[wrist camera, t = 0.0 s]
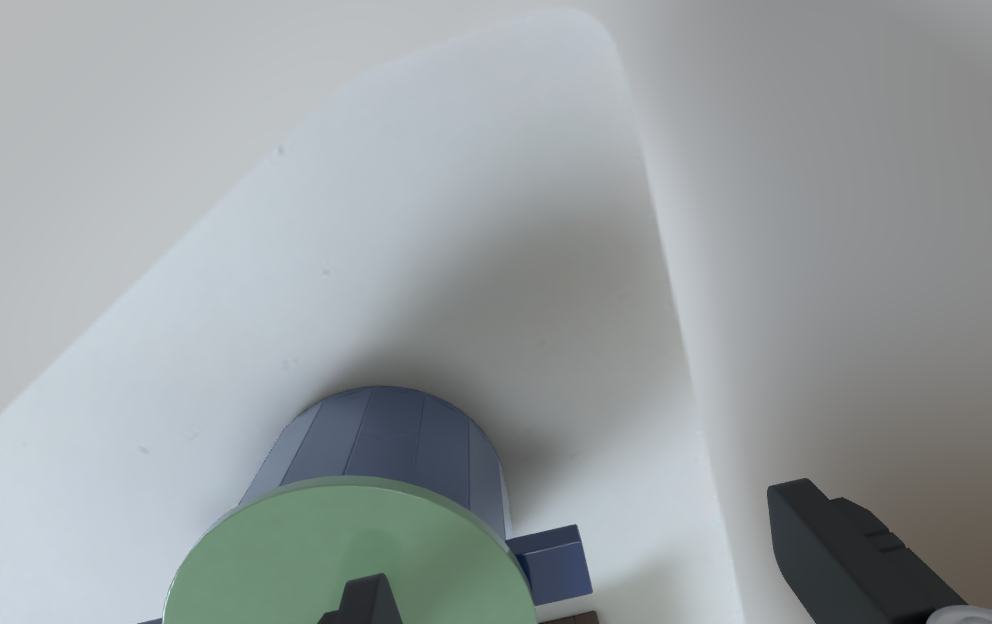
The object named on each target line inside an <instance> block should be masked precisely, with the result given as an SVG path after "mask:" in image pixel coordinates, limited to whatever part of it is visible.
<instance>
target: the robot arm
mask: <svg viewBox="0 0 992 624" xmlns="http://www.w3.org/2000/svg"><path fill="white" fill-rule="evenodd" d="M767 499H768V507H769V516H770V525H771V534H772V542H773V549H774V554H775V558H776V561H777V564H778V566H779V568H780V571H781V573H782V575H783V577H784V578H785V580H786V582H787V583H788V585H789V586H790V587H791V589H792V590H793V592H794V593H795V594H796V596H797V597H798V599H799V600H800V602H801V603H802V604H803V606H804V607H805V609H806V610H807V612H808V613H809V614H810V616H811V617H812V619H813V620H814V621H815V623H816V624H992V610H989V609H985V608H981V607H976V606H969V605H968V604H967V603H966V602H965V601H964V600H963V599H962V598H961V597H960V596H959V595H958V594H957V593H956V592H955V591H954V590H953V589H951V588H950V587H949V586H948V585H947V584H946V583H945V582H944V581H943V580H942V579H941V578H940V577H939V576H938V575H937V574H936V573H935V572H933V571H932V570H931V569H930V568H929V567H928V566H927V565H926V564H925V563H924V562H923V561H922V560H921V559H920V558H919V557H918V556H917V555H915V554H914V552H912V551H911V550H910V549H909V548H906V547H905V545H904V543H903V542H902V541H901V540H900V539H899V538H898V537H897V536H896V535H894V533H890V532H889V529H888V528H887V527H886V526H885V525H884V524H883V523H882V522H881V521H880V520H879V519H878V518H876V517H875V515H873V514H872V513H871V512H870V511H869V510H867V509H865V508H863V507H861V506H859V505H857V504H855V503H853V502H851V501H849V500H847V499H845V498H843V497H842V498H837V499H833V500H829V499H828V498H827V497H826V496H825V495H824V494H823V493H822V492H821V491H820V490H819V489H818V488H817V487H816V486H815V485H814V484H813V483H812V482H811V481H810V480H809V479H806V478H803V479H799V480H794V481H790V482H785V483H781V484H777V485H772V486H769V487H768V490H767ZM317 624H403V622H402V619H401V616H400V613H399V610H398V608H397V605H396V602H395V599H394V596H393V593H392V590H391V587H390V584H389V581H388V579H387V577H386V575H385V574H384V573H379V574H375V575H370V576H366V577H361V578H357V579H353V580H349V581H347V582H346V584H345V587H344V591H343V595H342V598H341V602H340V606H339V610H335V611H331V612H326V613H324V615H323V616H322V617H321V619H320V620H319V622H318V623H317Z"/></svg>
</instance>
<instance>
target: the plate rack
mask: <svg viewBox="0 0 992 624" xmlns="http://www.w3.org/2000/svg"><path fill="white" fill-rule="evenodd" d="M543 624H599V621H598V617H597V613H596V612H591V613H587V614H582V615H578V616H574V617H569V618H565V619H561V620H556V621H552V622H547V623H543Z"/></svg>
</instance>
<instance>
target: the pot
mask: <svg viewBox="0 0 992 624" xmlns="http://www.w3.org/2000/svg"><path fill="white" fill-rule="evenodd" d="M344 475H355V476H371V477H380V478H386V479H392V480H397V481H402V482H406V483H409V484H412V485H416V486H419V487H422V488H426V489H428V490H430V491H433V492H435V493H437V494H440V495H442V496H444V497H447V498H449V499H451V500H452V501H454V502H456V503H457V504H459V505H461V506H463V507H464V508H466V509H468V510H469V511H471V512H472V513H473V514H475V515H476V516H477V517H478V518H480V519H481V520H482V521H484V522H485V523H486V524H487V525H489V526H490V527H491V528H492V529H493V530H494V532H495V533H496V534H497V535H498V536H499V537H500V538H501V539H502V540H503V541H504V542H505V543H506V545H507V546H508V547H509V549H510V550H511V551H512V553H513V554H514V555H515V557H516V558H517V560H518V562H519V563H520V565H521V567H522V569H523V571H524V573H525V575H526V577H527V579H528V582H529V585H530V588H531V591H532V594H533V597H534V603H535V606H538V605H543V604H547V603H551V602H556V601H560V600H565V599H569V598H574V597H578V596H583V595H587V594H591V593H592V592H593V590H592V585H591V581H590V576H589V572H588V567H587V563H586V558H585V554H584V549H583V545H582V541H581V537H580V533H579V530H578V526H577V525H576V524H574V525H569V526H565V527H561V528H556V529H552V530H547V531H543V532H539V533H534V534H530V535H525V536H521V537H517V538H513V533H512V524H511V516H510V507H509V498H508V493H507V489H506V485H505V481H504V475H503V470H502V467H501V464H500V461H499V458H498V456H497V453H496V452H495V450H494V448H493V446H492V444H491V442H490V441H489V440H488V438H487V437H486V435H485V434H484V432H483V431H482V430H481V429H480V428H479V427H478V426H477V425H476V424H475V423H474V422H473V421H472V420H471V419H470V418H469V417H468V416H466V415H465V414H464V413H463V412H461V411H460V410H459V409H457V408H455V407H454V406H452V405H451V404H449V403H447V402H445V401H443V400H441V399H439V398H437V397H434V396H432V395H429V394H426V393H423V392H420V391H417V390H412V389H406V388H401V387H389V386H377V387H364V388H358V389H352V390H348V391H345V392H342V393H338V394H335V395H333V396H331V397H328V398H326V399H324V400H322V401H320V402H318V403H316V404H315V405H313V406H311V407H310V408H308V409H307V410H305V411H304V412H303V413H302V414H300V415H299V416H298V417H297V418H296V419H294V421H293V422H292V423H291V424H290V425H288V426H287V427H286V428H285V429H284V430H283V431H282V433H281V435H280V436H279V438H278V440H277V441H276V443H275V445H274V446H273V448H272V450H271V451H270V453H269V455H268V456H267V458H266V460H265V461H264V463H263V465H262V466H261V468H260V470H259V471H258V473H257V475H256V476H255V478H254V480H253V481H252V483H251V485H250V486H249V488H248V490H247V491H246V493H245V495H244V496H243V498H242V500H241V501H240V503H239V505H240V504H242V503H244V502H245V501H247V500H249V499H250V498H253V497H255V496H257V495H259V494H262V493H264V492H266V491H269V490H271V489H273V488H276V487H280V486H283V485H286V484H290V483H293V482H297V481H301V480H307V479H313V478H319V477H325V476H344ZM239 505H238V506H239ZM138 624H162V618H159V619H155V620H151V621H146V622H142V623H138Z"/></svg>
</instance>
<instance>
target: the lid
mask: <svg viewBox="0 0 992 624" xmlns="http://www.w3.org/2000/svg"><path fill="white" fill-rule="evenodd" d="M379 573H384V574H385V575H386V577H387V579H388V581H389V584H390V587H391V590H392V593H393V596H394V599H395V602H396V605H397V608H398V610H399V613H400V616H401V619H402V622H403V624H538V621H537V614H536V609H535V603H534V597H533V594H532V591H531V588H530V585H529V582H528V579H527V577H526V575H525V573H524V571H523V569H522V567H521V565H520V563H519V562H518V560H517V558H516V557H515V555H514V554H513V553H512V551H511V550H510V549H509V547H508V546H507V545H506V543H505V542H504V541H503V540H502V539H501V538H500V537H499V536H498V535H497V534H496V533H495V532H494V530H493V529H492V528H491V527H490V526H489V525H487V524H486V523H485V522H484V521H482V520H481V519H480V518H478V517H477V516H476V515H475V514H473V513H472V512H471V511H469V510H468V509H466V508H464V507H463V506H461V505H459V504H457V503H456V502H454V501H452V500H451V499H449V498H447V497H444V496H442V495H440V494H437V493H435V492H433V491H430V490H428V489H426V488H422V487H419V486H416V485H412V484H409V483H406V482H402V481H397V480H392V479H386V478H380V477H371V476H355V475H344V476H325V477H319V478H313V479H307V480H301V481H297V482H293V483H290V484H286V485H283V486H280V487H276V488H273V489H271V490H269V491H266V492H264V493H262V494H259V495H257V496H255V497H253V498H250V499H249V500H247V501H245V502H244V503H242V504H240V505H239V506H237V507H235V508H234V509H232V510H230V511H229V512H228V513H227V514H225V515H224V516H223V517H222V518H220V519H219V520H218V521H217V522H215V523H214V524H213V525H212V526H211V527H210V528H209V529H208V530H207V531H206V532H205V533H204V534H203V535H202V536H201V537H200V538H199V540H198V541H197V542H196V543H195V545H194V546H193V548H192V549H191V551H190V552H189V553H188V555H187V556H186V558H185V559H184V561H183V562H182V564H181V565H180V567H179V569H178V570H177V572H176V575H175V577H174V579H173V581H172V583H171V585H170V587H169V590H168V594H167V598H166V601H165V605H164V608H163V618H162V624H317V623H318V622H319V620H320V619H321V617H322V616H323V615H324V613H326V612H331V611H335V610H339V606H340V602H341V598H342V595H343V591H344V587H345V584H346V582H347V581H349V580H353V579H357V578H361V577H366V576H370V575H375V574H379Z"/></svg>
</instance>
